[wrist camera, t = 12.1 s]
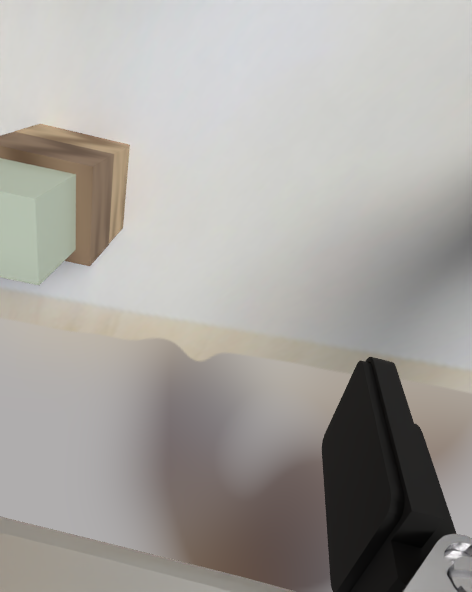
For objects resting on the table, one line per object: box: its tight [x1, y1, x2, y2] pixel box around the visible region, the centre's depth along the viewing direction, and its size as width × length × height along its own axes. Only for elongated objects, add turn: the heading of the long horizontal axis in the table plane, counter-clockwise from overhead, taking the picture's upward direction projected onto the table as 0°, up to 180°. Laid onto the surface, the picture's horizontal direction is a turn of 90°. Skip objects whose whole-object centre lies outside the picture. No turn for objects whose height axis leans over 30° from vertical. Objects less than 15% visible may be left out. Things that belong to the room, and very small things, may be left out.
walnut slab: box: [0, 132, 114, 266], centre depth 34 cm, size 8×8×4 cm
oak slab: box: [15, 124, 130, 243], centre depth 38 cm, size 8×8×4 cm
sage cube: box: [0, 158, 76, 285], centre depth 29 cm, size 6×6×6 cm
